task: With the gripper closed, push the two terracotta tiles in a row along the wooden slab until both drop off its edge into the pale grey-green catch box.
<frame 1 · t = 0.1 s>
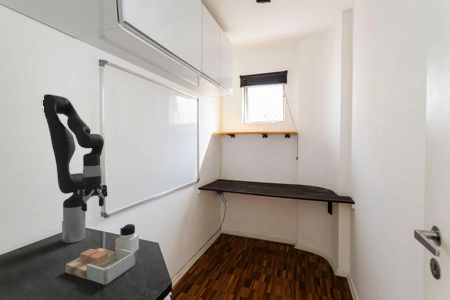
hand: (93, 208, 101), 17 cm above the worktop, tool pointing down, fingers open, 8 cm apart
wooden slab: (93, 265, 83), on the worktop
tile 2: (98, 259, 82), point 3 cm above the worktop, touching wooden slab
catch box: (112, 271, 80), on the worktop
tile 1: (89, 257, 84), point 3 cm above the worktop, touching wooden slab
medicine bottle: (127, 252, 94), on the worktop
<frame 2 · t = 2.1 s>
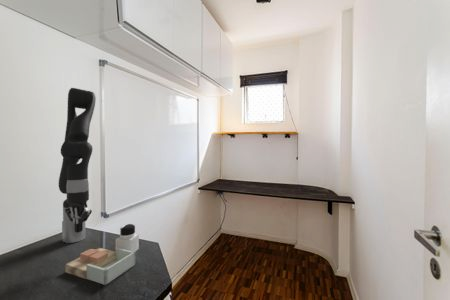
hand: (78, 231, 87), 12 cm above the worktop, tool pointing down, fingers closed
nothing on the worktop moved.
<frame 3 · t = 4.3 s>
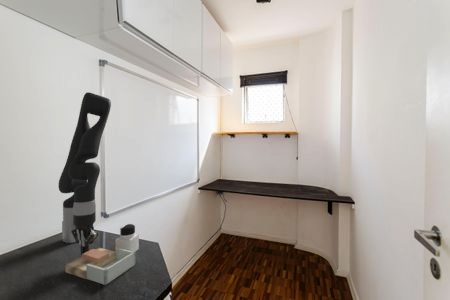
hand: (84, 254, 85), 4 cm above the worktop, tool pointing down, fingers closed
tile 2: (99, 259, 82), point 3 cm above the worktop
tile 1: (91, 257, 84), point 3 cm above the worktop, touching gripper
everything else where it was.
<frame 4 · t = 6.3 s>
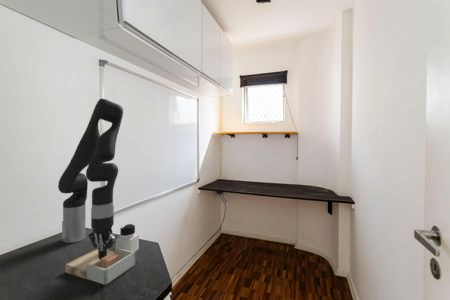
hand: (102, 258, 81), 4 cm above the worktop, tool pointing down, fingers closed
tile 2: (110, 263, 80), point 3 cm above the worktop, tilted 90°, touching catch box
tile 1: (105, 261, 81), point 3 cm above the worktop, tilted 92°, touching catch box, gripper
everything else where it was.
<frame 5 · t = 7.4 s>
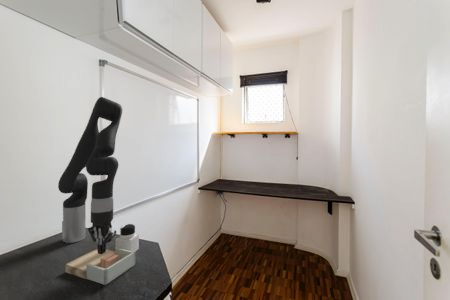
hand: (101, 253, 81), 6 cm above the worktop, tool pointing down, fingers closed
tile 1: (105, 261, 81), point 3 cm above the worktop, tilted 90°, touching catch box
everything else where it was.
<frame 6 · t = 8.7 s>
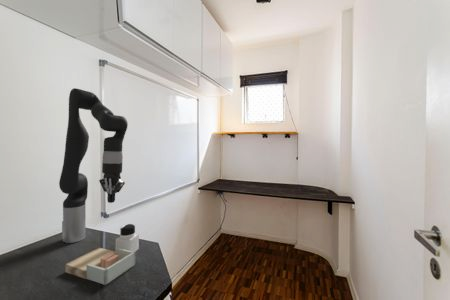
hand: (111, 202, 90), 24 cm above the worktop, tool pointing down, fingers closed
nothing on the worktop moved.
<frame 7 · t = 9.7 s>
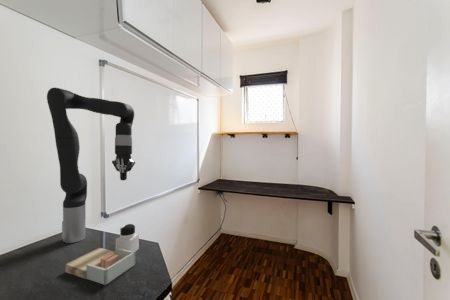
hand: (123, 180, 102), 31 cm above the worktop, tool pointing down, fingers closed
nothing on the worktop moved.
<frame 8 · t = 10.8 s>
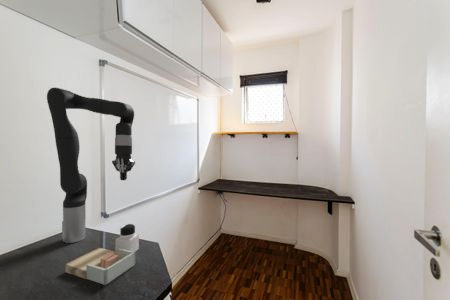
hand: (123, 180, 102), 31 cm above the worktop, tool pointing down, fingers closed
nothing on the worktop moved.
at the end: tile 2 inside the target area (1.1 cm from its centre), point 2.7 cm above the worktop; tile 1 inside the target area (3.5 cm from its centre), point 2.7 cm above the worktop; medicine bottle moved 0.2 cm from its start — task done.
